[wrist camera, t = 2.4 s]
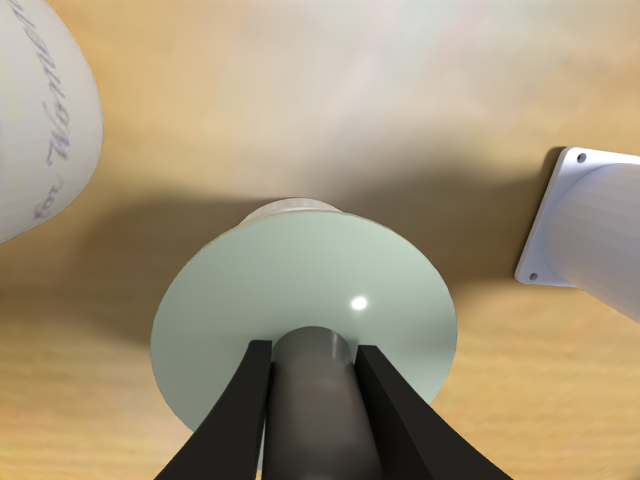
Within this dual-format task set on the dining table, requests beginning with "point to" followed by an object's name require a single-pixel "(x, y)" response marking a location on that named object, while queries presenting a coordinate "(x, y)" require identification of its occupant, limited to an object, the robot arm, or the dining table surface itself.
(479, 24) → the dining table surface
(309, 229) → the lid
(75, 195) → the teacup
